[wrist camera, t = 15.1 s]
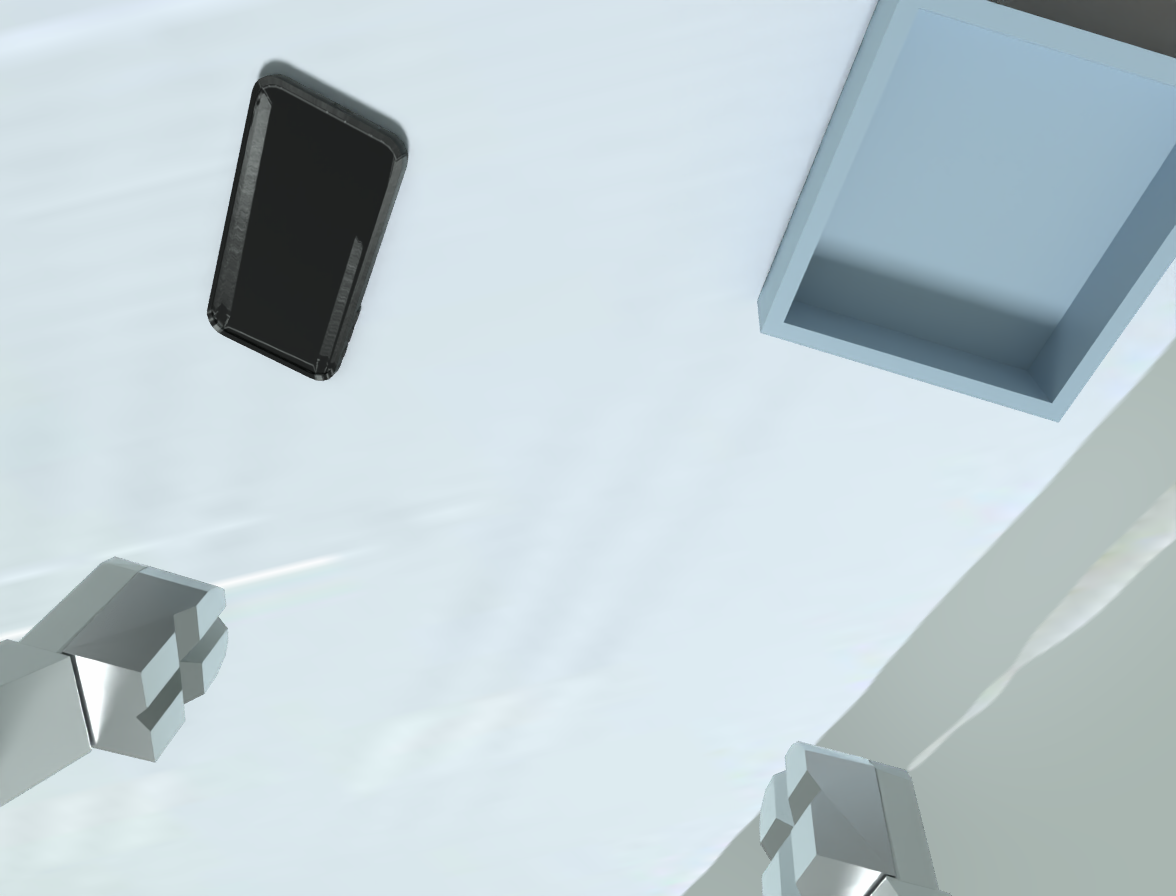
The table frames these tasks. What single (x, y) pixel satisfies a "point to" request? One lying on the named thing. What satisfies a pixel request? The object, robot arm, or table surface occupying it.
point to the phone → (303, 226)
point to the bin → (983, 204)
